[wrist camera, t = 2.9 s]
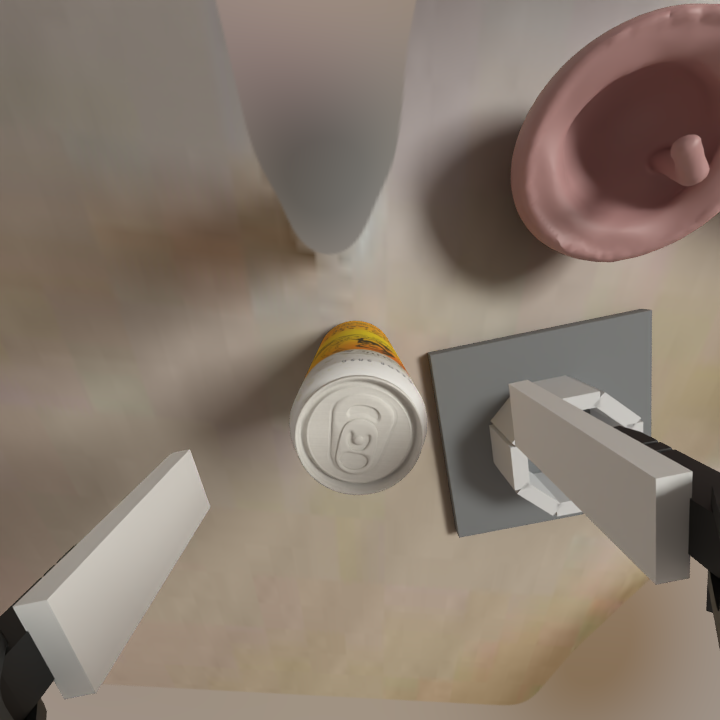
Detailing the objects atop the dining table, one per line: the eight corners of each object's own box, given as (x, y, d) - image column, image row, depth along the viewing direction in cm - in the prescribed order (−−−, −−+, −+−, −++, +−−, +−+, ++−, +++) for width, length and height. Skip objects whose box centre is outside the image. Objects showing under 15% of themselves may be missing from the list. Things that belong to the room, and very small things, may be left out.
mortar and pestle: (450, 204, 26) (526, 148, 15) (555, 50, 23) (738, -155, 12) (566, 293, 27) (712, 304, 16) (673, 158, 25) (927, 65, 14)
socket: (427, 352, 28) (443, 368, 24) (641, 308, 28) (702, 315, 23) (456, 529, 33) (474, 573, 28) (641, 494, 32) (693, 533, 27)
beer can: (398, 327, 28) (450, 383, 13) (382, 395, 29) (413, 514, 15) (326, 312, 27) (297, 352, 13) (313, 382, 29) (274, 490, 14)
